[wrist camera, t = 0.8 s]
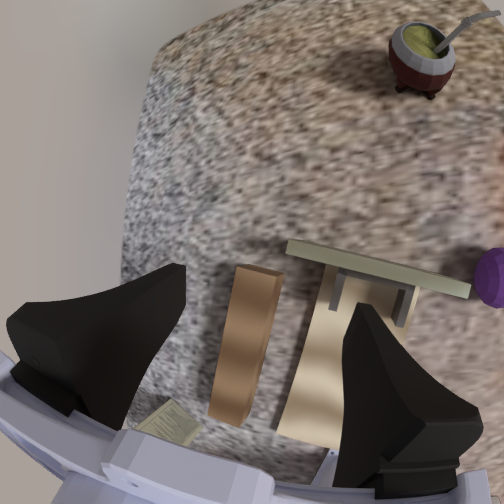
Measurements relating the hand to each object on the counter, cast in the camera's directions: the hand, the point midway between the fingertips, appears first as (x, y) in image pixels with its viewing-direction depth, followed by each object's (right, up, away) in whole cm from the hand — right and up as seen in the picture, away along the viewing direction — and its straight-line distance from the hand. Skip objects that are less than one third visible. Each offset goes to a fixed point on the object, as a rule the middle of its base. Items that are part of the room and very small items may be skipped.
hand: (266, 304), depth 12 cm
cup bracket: (+10, -10, +17) cm, 22 cm away
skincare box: (-10, -21, +25) cm, 34 cm away
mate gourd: (+18, +22, +14) cm, 32 cm away
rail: (-1, -8, +21) cm, 23 cm away
